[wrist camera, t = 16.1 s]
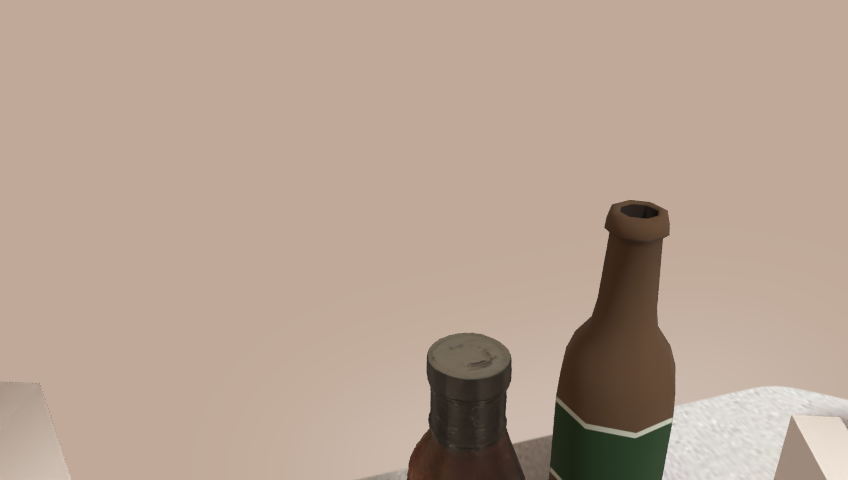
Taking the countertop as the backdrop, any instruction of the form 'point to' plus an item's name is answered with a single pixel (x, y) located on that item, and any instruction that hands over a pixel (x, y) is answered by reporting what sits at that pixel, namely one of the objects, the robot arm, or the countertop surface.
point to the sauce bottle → (467, 413)
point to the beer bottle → (619, 363)
